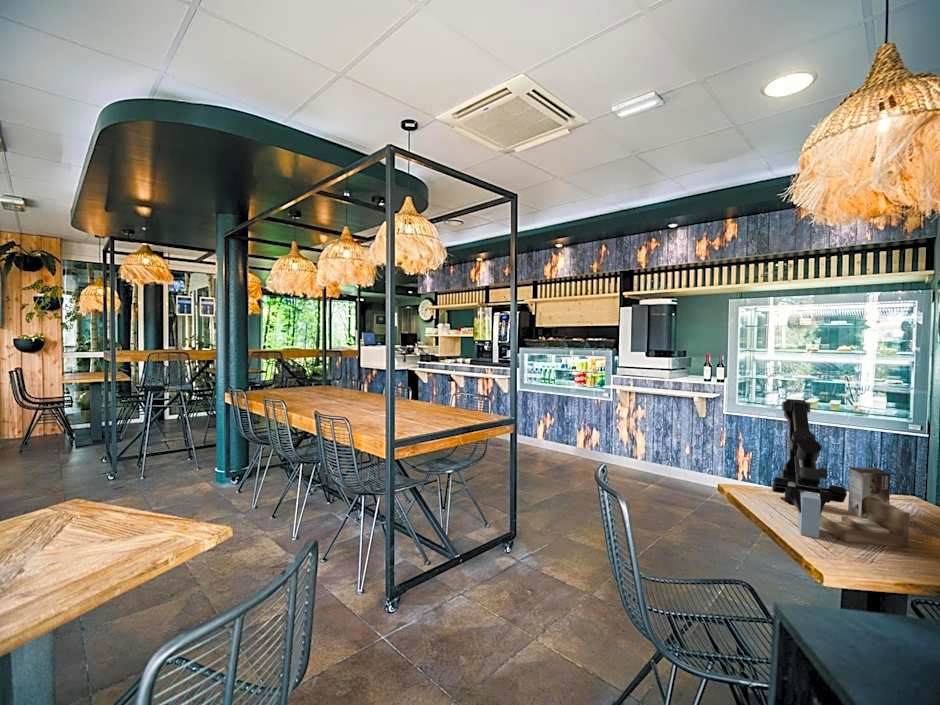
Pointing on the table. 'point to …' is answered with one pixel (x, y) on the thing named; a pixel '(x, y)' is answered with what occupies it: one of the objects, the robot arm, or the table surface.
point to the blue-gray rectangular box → (809, 514)
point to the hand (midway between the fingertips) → (809, 513)
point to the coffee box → (867, 489)
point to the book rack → (873, 526)
